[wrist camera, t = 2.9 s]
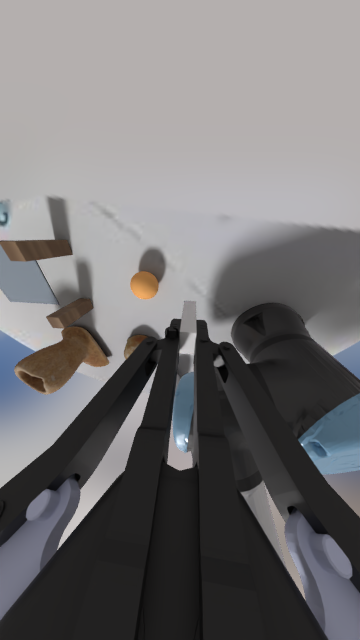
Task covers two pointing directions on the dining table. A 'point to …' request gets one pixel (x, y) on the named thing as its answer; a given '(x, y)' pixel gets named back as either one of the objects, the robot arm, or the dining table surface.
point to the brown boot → (60, 361)
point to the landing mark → (24, 281)
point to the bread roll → (133, 344)
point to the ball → (144, 285)
